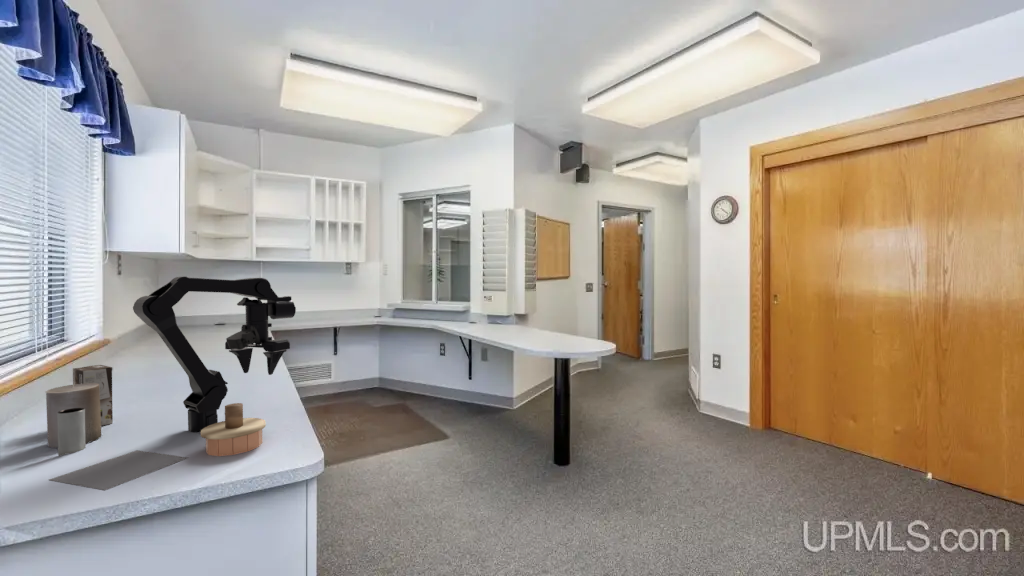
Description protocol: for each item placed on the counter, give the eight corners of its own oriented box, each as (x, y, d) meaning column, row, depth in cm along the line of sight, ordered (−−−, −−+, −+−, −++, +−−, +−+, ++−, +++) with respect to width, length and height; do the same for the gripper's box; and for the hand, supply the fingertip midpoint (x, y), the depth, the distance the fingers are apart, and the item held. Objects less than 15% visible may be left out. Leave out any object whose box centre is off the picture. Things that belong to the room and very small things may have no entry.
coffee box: (114, 423, 126) (113, 366, 126) (83, 429, 121) (82, 370, 121) (102, 418, 131) (101, 363, 131) (73, 424, 126) (71, 367, 125)
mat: (48, 484, 88) (48, 479, 88) (137, 454, 103) (137, 450, 103) (105, 495, 83) (105, 490, 83) (189, 462, 98) (188, 457, 98)
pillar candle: (93, 432, 119) (91, 376, 118) (107, 438, 114) (105, 380, 113) (41, 444, 110) (39, 384, 110) (54, 451, 105) (52, 388, 105)
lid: (186, 436, 100) (186, 410, 100) (236, 419, 113) (236, 396, 113) (231, 441, 97) (230, 415, 97) (278, 423, 109) (277, 400, 109)
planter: (54, 459, 100) (53, 414, 100) (63, 452, 104) (62, 409, 104) (81, 455, 102) (80, 411, 102) (88, 449, 106) (87, 406, 106)
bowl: (194, 457, 101) (194, 435, 101) (237, 440, 112) (236, 420, 112) (232, 462, 98) (232, 439, 98) (272, 444, 109) (272, 424, 109)
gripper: (207, 322, 125) (208, 377, 125) (258, 323, 119) (259, 381, 120) (241, 319, 136) (242, 370, 136) (290, 320, 130) (291, 373, 130)
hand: (258, 373), depth 130 cm, fingers open, 9 cm apart
